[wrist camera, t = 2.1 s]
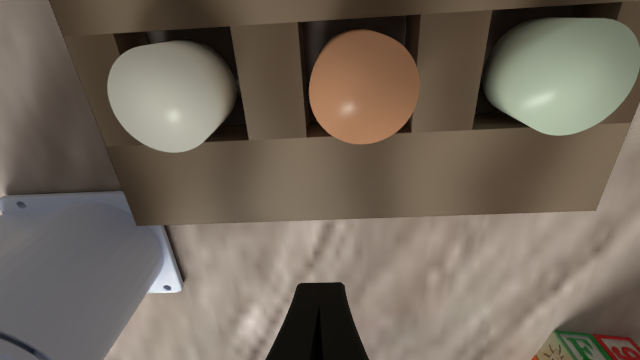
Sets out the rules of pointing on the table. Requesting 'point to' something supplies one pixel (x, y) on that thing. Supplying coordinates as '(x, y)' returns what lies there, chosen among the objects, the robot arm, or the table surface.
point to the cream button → (171, 93)
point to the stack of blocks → (587, 347)
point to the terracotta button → (363, 86)
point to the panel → (322, 148)
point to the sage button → (562, 72)
